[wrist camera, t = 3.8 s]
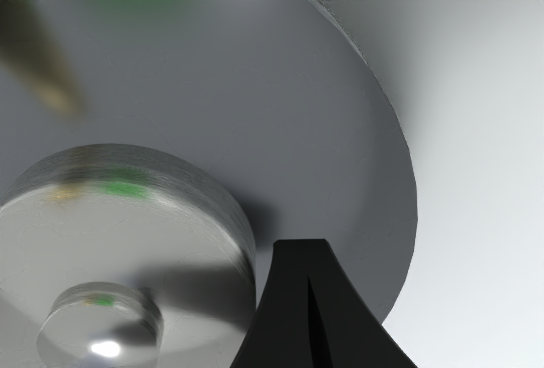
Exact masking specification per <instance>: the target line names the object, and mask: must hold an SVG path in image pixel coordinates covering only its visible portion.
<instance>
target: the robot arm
mask: <svg viewBox="0 0 544 368" xmlns="http://www.w3.org/2000/svg"><path fill="white" fill-rule="evenodd" d="M230 368H418V367H417V366H416V365H415V364H414V363H413V362H412V361H411V360H410V358H409V357H408V356H407V355H406V354H405V353H404V352H403V351H402V350H401V348H400V347H399V346H398V345H397V344H396V342H395V341H394V340H393V339H392V338H391V336H390V335H389V334H388V333H387V331H386V330H385V329H384V328H383V326H382V325H381V324H380V323H379V321H378V320H377V319H376V317H375V316H374V315H373V313H372V312H371V311H370V309H369V308H368V306H367V305H366V304H365V302H364V301H363V299H362V298H361V296H360V295H359V293H358V292H357V290H356V289H355V288H354V286H353V284H352V283H351V281H350V280H349V278H348V277H347V275H346V273H345V272H344V270H343V268H342V267H341V265H340V263H339V261H338V259H337V258H336V256H335V254H334V252H333V250H332V248H331V246H330V244H329V242H328V241H327V240H326V239H325V238H323V239H278V240H277V241H275V242H274V243H273V255H272V261H271V266H270V270H269V274H268V278H267V281H266V284H265V287H264V290H263V293H262V296H261V299H260V302H259V305H258V308H257V310H256V312H255V315H254V317H253V319H252V322H251V324H250V327H249V329H248V331H247V334H246V336H245V338H244V340H243V342H242V344H241V346H240V348H239V350H238V352H237V354H236V356H235V358H234V360H233V362H232V364H231V366H230Z"/></svg>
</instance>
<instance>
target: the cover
mask: <svg viewBox="0 0 544 368" xmlns="http://www.w3.org/2000/svg"><path fill="white" fill-rule="evenodd" d="M255 312H256V245H255V239H254V235H253V231H252V228H251V226H250V223H249V221H248V218H247V216H246V215H245V213H244V211H243V210H242V208H241V206H240V205H239V203H238V202H237V201H236V200H235V199H234V197H233V196H232V195H231V194H230V192H229V191H228V190H226V189H225V188H224V187H223V186H222V185H221V184H220V183H219V182H218V181H217V180H215V179H214V178H213V177H211V176H210V175H209V174H207V173H206V172H204V171H203V170H201V169H200V168H198V167H196V166H194V165H193V164H191V163H189V162H187V161H185V160H183V159H180V158H178V157H176V156H173V155H171V154H168V153H165V152H162V151H158V150H155V149H152V148H147V147H141V146H136V145H129V144H115V143H107V144H90V145H84V146H78V147H73V148H70V149H66V150H63V151H60V152H57V153H54V154H52V155H50V156H48V157H46V158H44V159H41V160H40V161H38V162H37V163H35V164H34V165H32V166H31V167H29V168H28V169H27V170H26V171H25V172H23V173H22V174H21V175H20V176H19V177H18V178H17V179H16V180H15V182H14V183H13V184H12V186H11V187H10V188H9V189H8V191H7V192H6V193H5V195H4V196H3V197H2V199H1V200H0V368H230V366H231V364H232V362H233V360H234V358H235V356H236V354H237V352H238V350H239V348H240V346H241V344H242V342H243V340H244V338H245V336H246V334H247V331H248V329H249V327H250V324H251V322H252V319H253V317H254V315H255Z"/></svg>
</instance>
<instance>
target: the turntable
mask: <svg viewBox="0 0 544 368" xmlns="http://www.w3.org/2000/svg"><path fill="white" fill-rule="evenodd" d="M107 143H115V144H129V145H136V146H141V147H147V148H152V149H155V150H158V151H162V152H165V153H168V154H171V155H173V156H176V157H178V158H180V159H183V160H185V161H187V162H189V163H191V164H193V165H194V166H196V167H198V168H200V169H201V170H203V171H204V172H206V173H207V174H209V175H210V176H211V177H213V178H214V179H215V180H217V181H218V182H219V183H220V184H221V185H222V186H223V187H224V188H225V189H226V190H228V191H229V192H230V194H231V195H232V196H233V197H234V199H235V200H236V201H237V202H238V203H239V205H240V206H241V208H242V210H243V211H244V213H245V215H246V216H247V218H248V221H249V223H250V226H251V228H252V231H253V235H254V239H255V245H256V310H257V308H258V305H259V302H260V299H261V296H262V293H263V290H264V287H265V284H266V281H267V278H268V274H269V270H270V266H271V261H272V255H273V243H274V242H275V241H277V240H278V239H323V238H325V239H326V240H327V241H328V242H329V244H330V246H331V248H332V250H333V252H334V254H335V256H336V258H337V259H338V261H339V263H340V265H341V267H342V268H343V270H344V272H345V273H346V275H347V277H348V278H349V280H350V281H351V283H352V284H353V286H354V288H355V289H356V290H357V292H358V293H359V295H360V296H361V298H362V299H363V301H364V302H365V304H366V305H367V306H368V308H369V309H370V311H371V312H372V313H373V315H374V316H375V317H376V319H377V320H378V321H379V323H380V324H382V323H383V321H384V320H385V318H386V317H387V315H388V314H389V312H390V311H391V309H392V308H393V306H394V304H395V301H396V299H397V297H398V295H399V293H400V291H401V289H402V287H403V285H404V282H405V280H406V276H407V273H408V269H409V266H410V263H411V259H412V256H413V252H414V245H415V237H416V229H417V221H418V216H417V191H416V182H415V177H414V172H413V167H412V162H411V158H410V153H409V148H408V146H407V143H406V140H405V138H404V135H403V132H402V130H401V127H400V125H399V122H398V119H397V117H396V114H395V112H394V109H393V108H392V106H391V104H390V102H389V101H388V99H387V97H386V95H385V94H384V92H383V90H382V88H381V87H380V85H379V83H378V81H377V80H376V78H375V76H374V75H373V73H372V71H371V69H370V68H369V66H368V64H367V62H366V61H365V59H364V57H363V55H362V54H361V52H360V50H359V49H358V47H357V46H356V45H355V44H354V42H353V41H352V40H351V39H350V37H349V36H348V35H347V33H346V32H345V31H344V30H343V28H342V27H341V26H340V25H339V23H338V22H337V21H336V20H335V18H334V17H333V16H332V14H331V13H330V12H329V11H327V10H326V9H325V8H324V7H323V6H322V5H321V4H320V3H319V2H318V1H317V0H0V200H1V199H2V197H3V196H4V195H5V193H6V192H7V191H8V189H9V188H10V187H11V186H12V184H13V183H14V182H15V180H16V179H17V178H18V177H19V176H20V175H21V174H22V173H23V172H25V171H26V170H27V169H28V168H29V167H31V166H32V165H34V164H35V163H37V162H38V161H40V160H41V159H44V158H46V157H48V156H50V155H52V154H54V153H57V152H60V151H63V150H66V149H70V148H73V147H78V146H84V145H90V144H107Z"/></svg>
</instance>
